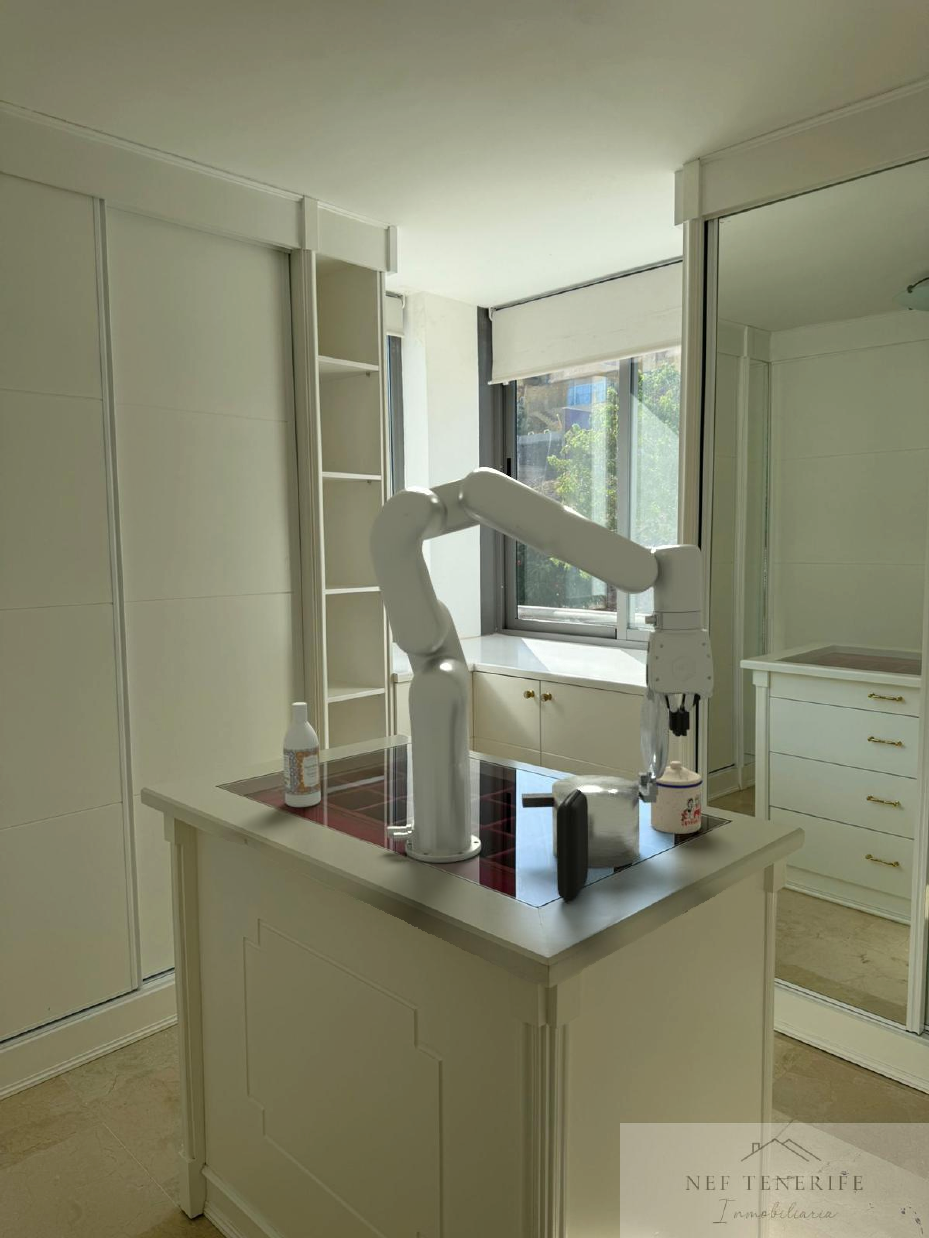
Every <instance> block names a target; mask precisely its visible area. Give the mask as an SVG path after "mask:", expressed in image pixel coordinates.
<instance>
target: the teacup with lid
mask: <svg viewBox="0 0 929 1238" xmlns="http://www.w3.org/2000/svg"><path fill="white" fill-rule="evenodd" d="M682 765H683V764H682V762H681V761H679V760H672V761H670V762H669V766H666V768H665V771H664V774H663V776H662V777H661V778H660V779H656V784H657V785H658V795H657V803H650V825H651V826H652V828H653V829H655V830H656V831H659V832H663V833H667V834H675V835H682V834H683V835H687V834H690V833H691V834H692V833H696V832H697V831H698V830H700V829H701V827H702V783H703V779H702V777H701V774H699V773H697V772H694V771H693V770H689V769H687V768H686V767H684V766H682Z"/></svg>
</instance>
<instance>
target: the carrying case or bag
mask: <svg viewBox="0 0 929 1238" xmlns="http://www.w3.org/2000/svg"><path fill="white" fill-rule="evenodd" d="M556 877H557V879H556V881H557V882H556V883H557V884H556V885H557V887H556V888H557V893H558V896H559V897H560V898H561V899H562V900H563V902H565V903H568V904H569V903H572V902H573V901H574V900H575V899H577V898H578V897H579V894H580V893H581V891H582V889H583V888H584V886H585V884H586V882H587V881H588V877H589V868H588V802H587V797H586V796H585V794H583V793H582V792H581V791H580V790H578V789H576V790H574V791H573V792H572V793H570V794H569V795H568V796H567V797H566V798H565V800H564V801H563V802H562V803H561V804H560V806H559V807H558V810H557V858H556Z"/></svg>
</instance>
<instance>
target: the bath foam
mask: <svg viewBox="0 0 929 1238" xmlns="http://www.w3.org/2000/svg"><path fill="white" fill-rule="evenodd" d="M291 718H292V719H291V720H292V722H291V723H290V726H289V727H288V729H287V730H286V733H285V735H284V738H283V742H282V743H283V745H282V753H283V754H282V755H283V756H282V757H283V758H282V759H283V776H284V777H283V778H284V779H283V781H284V802H285V804H286V805H287V806H289V807H292V808H306V807H307V808H308V807H312V806H316V805H317V804H319V803H320V801H322V800H321V797H322V795H321V792H322V791H321V767H320V765H321V764H320V745H319V738H318V735H317V732H315V729H314V728H313V726H312V725H311V724H310V723H309V721H308V704H307V702H303V701H301V702H300V701H297V702H293V703H292V704H291Z"/></svg>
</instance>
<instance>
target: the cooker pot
mask: <svg viewBox="0 0 929 1238" xmlns="http://www.w3.org/2000/svg"><path fill="white" fill-rule="evenodd" d="M637 773H638V776H637V777H638V780H633V781H632V780H629V779H626V778H623V777H617V776H612V775H597V774H590V775H589V774H587V775H586V774H585V775H575V776H574V775H573V776H568V777H564V778H561V779H559V780H556V781H555V782H554V783H553V784H552V786H551V792H542V793H541V792H538V793H534V792H533V793H521V804H522V806H521V807H522V808H523V809H524V808H525V809H526V808H530V809H531V808H532V809H533V808H551V810H552V853H553V856H554V857H555V858H556V859H557V810H558V807H559V806H560V804H561V803H562V802H563V801H564V800H565V798H566V797H567V796H568V795H569V794H570V793H572V792H573V791H574V790H576V789H578V790H580V791H581V792H582V793H583V794H585V796H586V797H587V802H588V869H613V868H619V867H624V866H628V865H630V864H633V863H634V862H636V861H637V860H638V859H639V858H640V800H641V802H642V803H644V804H651V803H657V795H658V785H657V784H656V783H647V782H646V772H637Z"/></svg>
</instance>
